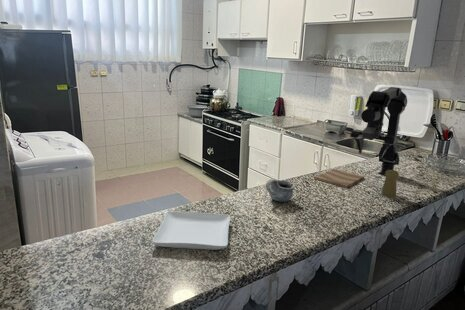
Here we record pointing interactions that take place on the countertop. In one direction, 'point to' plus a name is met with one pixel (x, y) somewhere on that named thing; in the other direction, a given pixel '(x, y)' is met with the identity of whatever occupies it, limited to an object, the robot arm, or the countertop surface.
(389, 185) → the cork
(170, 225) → the salad plate
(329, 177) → the walnut board
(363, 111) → the robot arm
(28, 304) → the countertop surface
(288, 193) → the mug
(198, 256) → the countertop surface
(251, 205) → the countertop surface
